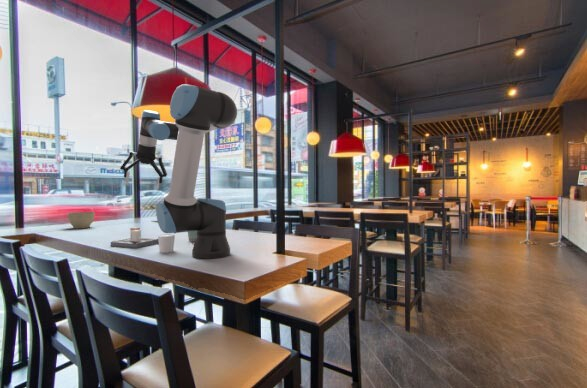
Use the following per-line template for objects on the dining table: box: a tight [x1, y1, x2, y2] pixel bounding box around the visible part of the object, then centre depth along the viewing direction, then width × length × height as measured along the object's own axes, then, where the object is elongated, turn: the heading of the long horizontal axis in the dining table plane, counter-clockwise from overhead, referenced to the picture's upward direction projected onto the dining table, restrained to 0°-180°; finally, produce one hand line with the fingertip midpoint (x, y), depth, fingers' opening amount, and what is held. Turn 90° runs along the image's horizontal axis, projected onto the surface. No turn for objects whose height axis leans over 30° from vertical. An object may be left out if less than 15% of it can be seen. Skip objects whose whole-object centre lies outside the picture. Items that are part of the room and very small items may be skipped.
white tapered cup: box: [157, 233, 176, 254], centre depth 131 cm, size 7×7×7 cm
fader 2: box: [130, 229, 142, 242], centre depth 143 cm, size 3×3×5 cm
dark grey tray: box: [110, 237, 159, 249], centre depth 147 cm, size 16×14×2 cm
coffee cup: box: [187, 231, 197, 243], centre depth 157 cm, size 8×8×12 cm
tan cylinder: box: [129, 227, 141, 232], centre depth 152 cm, size 3×3×5 cm
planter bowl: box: [66, 211, 96, 229], centre depth 214 cm, size 16×16×11 cm
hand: (142, 186), depth 147 cm, fingers open, 13 cm apart
